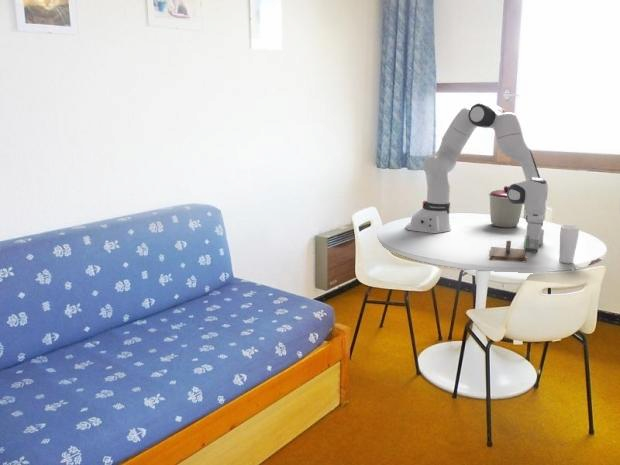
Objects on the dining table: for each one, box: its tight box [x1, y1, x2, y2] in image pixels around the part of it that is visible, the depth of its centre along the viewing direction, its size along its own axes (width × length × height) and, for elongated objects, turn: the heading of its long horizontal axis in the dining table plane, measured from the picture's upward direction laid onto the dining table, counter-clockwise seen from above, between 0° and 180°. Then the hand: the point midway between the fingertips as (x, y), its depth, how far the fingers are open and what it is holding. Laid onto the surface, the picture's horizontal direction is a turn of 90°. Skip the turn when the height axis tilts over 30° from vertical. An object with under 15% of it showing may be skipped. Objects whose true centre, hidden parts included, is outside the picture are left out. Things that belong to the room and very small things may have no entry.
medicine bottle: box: [525, 222, 545, 246], centre depth 260 cm, size 7×7×12 cm
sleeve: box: [523, 234, 539, 253], centre depth 249 cm, size 5×5×6 cm
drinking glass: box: [558, 224, 580, 264], centre depth 231 cm, size 7×7×15 cm
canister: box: [488, 185, 524, 229], centre depth 291 cm, size 18×18×21 cm
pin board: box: [489, 240, 527, 262], centre depth 241 cm, size 14×14×6 cm
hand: (531, 245), depth 249 cm, fingers closed on sleeve, 5 cm apart
